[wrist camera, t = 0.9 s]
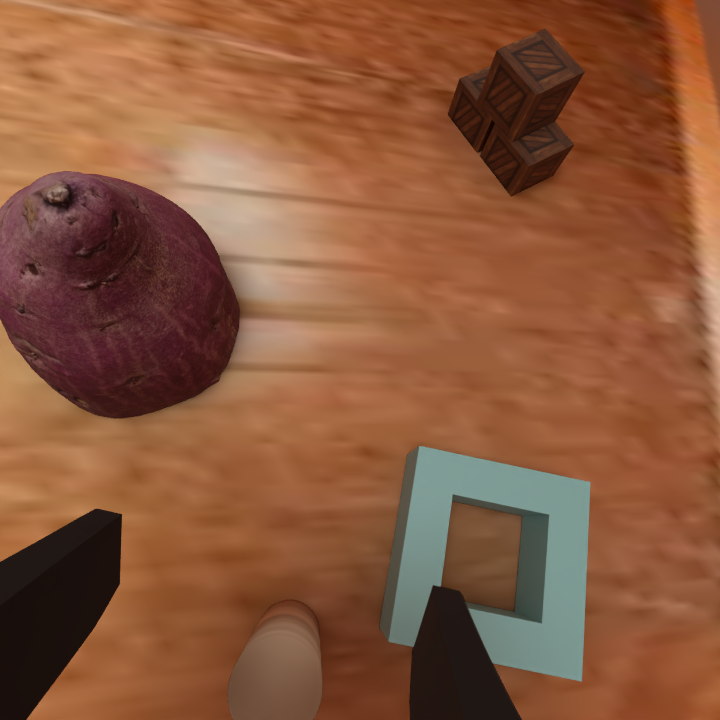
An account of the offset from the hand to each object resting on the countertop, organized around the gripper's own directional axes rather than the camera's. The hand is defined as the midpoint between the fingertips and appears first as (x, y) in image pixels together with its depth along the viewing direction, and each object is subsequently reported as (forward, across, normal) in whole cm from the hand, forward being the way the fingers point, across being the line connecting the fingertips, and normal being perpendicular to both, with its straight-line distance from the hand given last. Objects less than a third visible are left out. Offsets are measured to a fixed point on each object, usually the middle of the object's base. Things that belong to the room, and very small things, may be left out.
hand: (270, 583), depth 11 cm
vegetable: (+16, +11, +1) cm, 19 cm away
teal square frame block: (+12, -8, +7) cm, 16 cm away
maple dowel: (+8, 0, +11) cm, 13 cm away
